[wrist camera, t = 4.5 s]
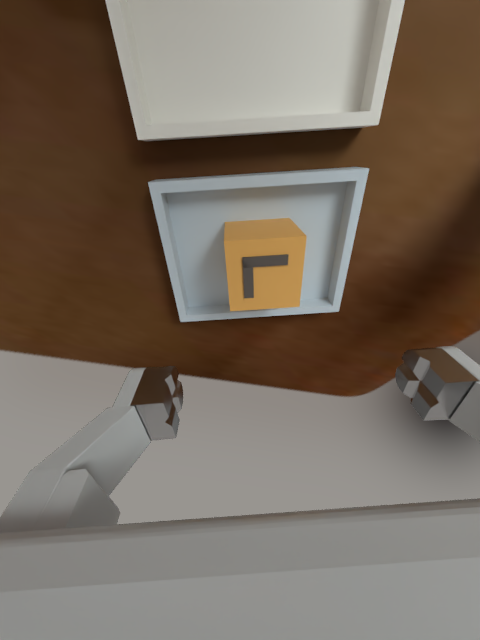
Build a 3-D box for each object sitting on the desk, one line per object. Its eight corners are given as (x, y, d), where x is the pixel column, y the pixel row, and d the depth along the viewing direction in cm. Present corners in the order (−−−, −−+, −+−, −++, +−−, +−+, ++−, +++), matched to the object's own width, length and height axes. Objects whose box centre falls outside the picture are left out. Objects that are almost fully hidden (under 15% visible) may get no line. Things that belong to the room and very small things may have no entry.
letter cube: (224, 221, 17) (223, 241, 13) (289, 217, 17) (307, 236, 13) (229, 281, 19) (230, 312, 16) (285, 277, 19) (299, 307, 16)
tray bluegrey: (155, 179, 16) (147, 182, 14) (355, 166, 16) (369, 168, 14) (183, 310, 21) (180, 322, 20) (331, 300, 21) (338, 311, 20)
